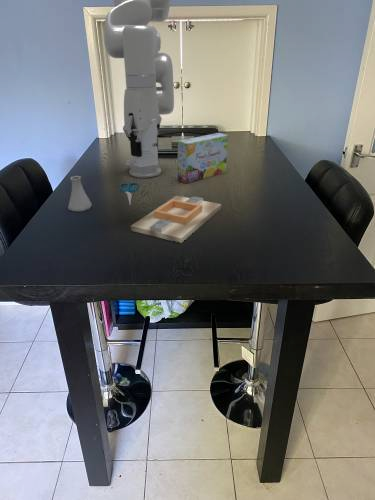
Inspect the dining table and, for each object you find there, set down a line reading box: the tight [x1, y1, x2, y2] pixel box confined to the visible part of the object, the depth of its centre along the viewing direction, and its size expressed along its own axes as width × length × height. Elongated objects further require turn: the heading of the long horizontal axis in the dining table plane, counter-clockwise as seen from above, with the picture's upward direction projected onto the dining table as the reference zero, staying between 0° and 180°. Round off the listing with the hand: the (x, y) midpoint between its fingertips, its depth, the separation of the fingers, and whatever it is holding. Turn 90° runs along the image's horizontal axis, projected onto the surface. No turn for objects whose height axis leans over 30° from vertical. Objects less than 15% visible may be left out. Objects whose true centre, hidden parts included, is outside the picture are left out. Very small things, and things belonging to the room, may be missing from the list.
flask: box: [67, 175, 93, 212], centre depth 118 cm, size 7×7×10 cm
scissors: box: [119, 182, 139, 205], centre depth 130 cm, size 7×1×20 cm
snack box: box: [177, 132, 229, 184], centre depth 143 cm, size 21×6×15 cm, turn 131°
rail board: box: [130, 195, 222, 244], centre depth 112 cm, size 16×26×4 cm, turn 152°
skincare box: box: [131, 119, 159, 167], centre depth 102 cm, size 6×4×12 cm
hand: (145, 152), depth 104 cm, fingers closed on skincare box, 7 cm apart
